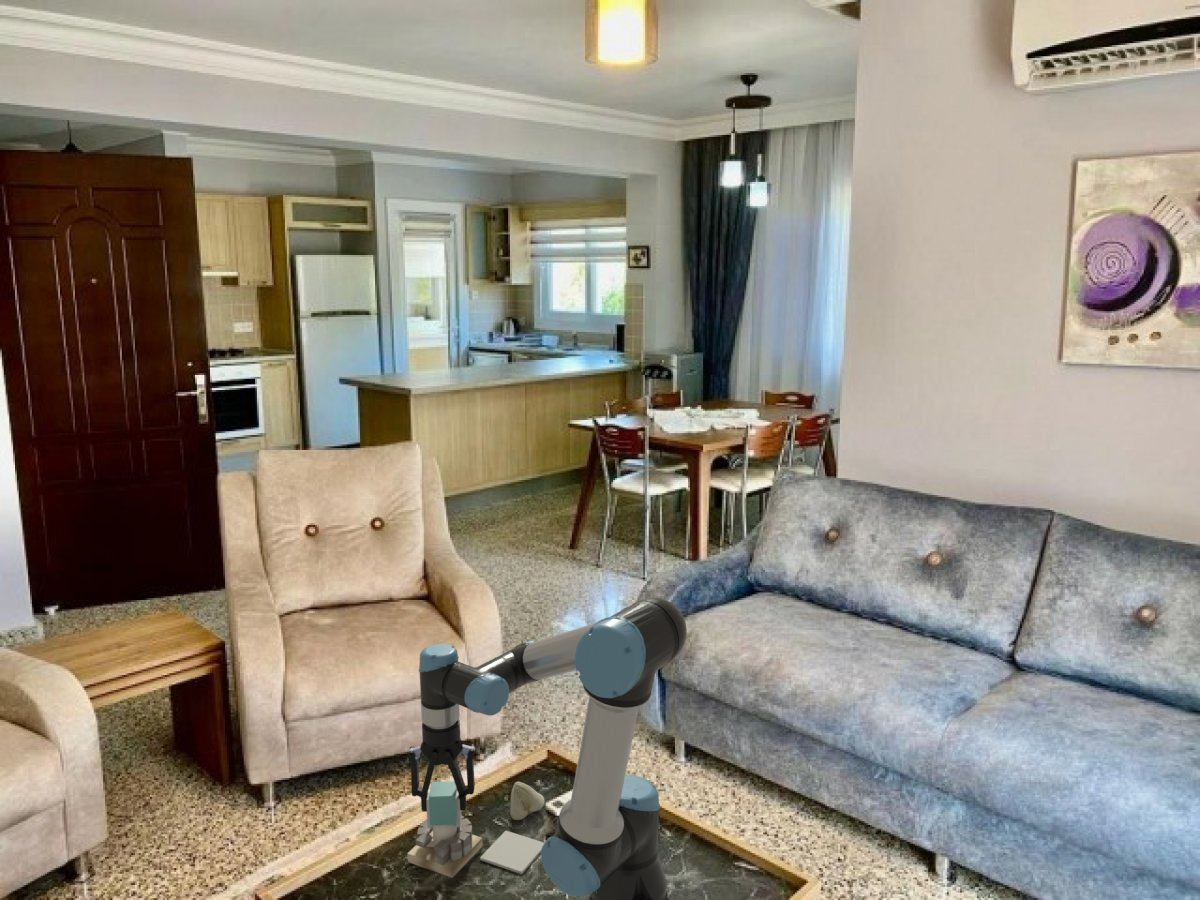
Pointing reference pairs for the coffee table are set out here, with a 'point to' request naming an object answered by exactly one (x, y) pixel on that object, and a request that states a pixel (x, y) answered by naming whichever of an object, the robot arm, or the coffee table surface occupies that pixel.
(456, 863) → the socket
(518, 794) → the seashell
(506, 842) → the mat
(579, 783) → the robot arm
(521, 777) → the coffee table surface
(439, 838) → the plug
